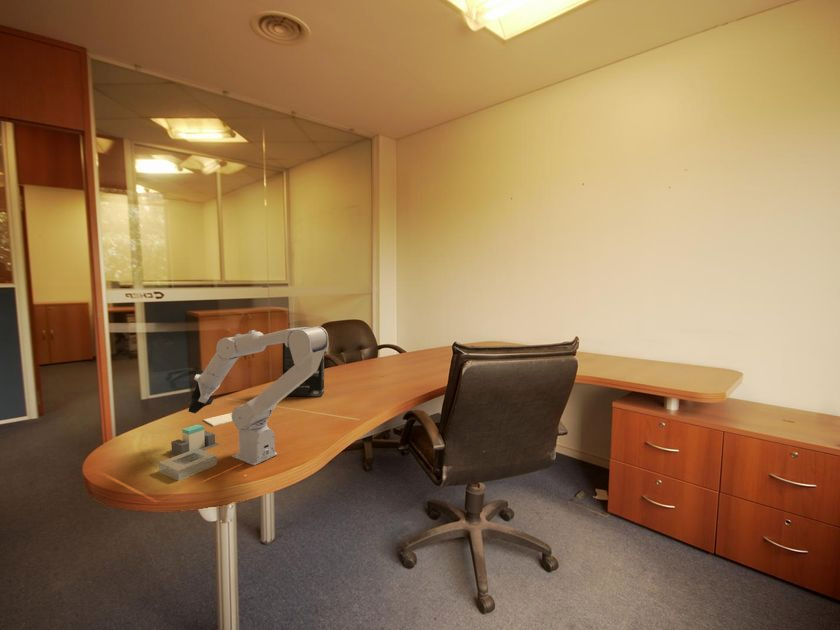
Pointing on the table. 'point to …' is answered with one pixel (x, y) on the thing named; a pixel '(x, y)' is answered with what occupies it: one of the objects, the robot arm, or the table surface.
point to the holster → (183, 446)
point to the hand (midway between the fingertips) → (194, 402)
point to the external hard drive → (219, 419)
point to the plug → (194, 436)
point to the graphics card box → (312, 384)
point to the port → (187, 464)
